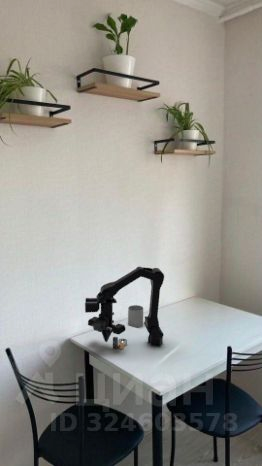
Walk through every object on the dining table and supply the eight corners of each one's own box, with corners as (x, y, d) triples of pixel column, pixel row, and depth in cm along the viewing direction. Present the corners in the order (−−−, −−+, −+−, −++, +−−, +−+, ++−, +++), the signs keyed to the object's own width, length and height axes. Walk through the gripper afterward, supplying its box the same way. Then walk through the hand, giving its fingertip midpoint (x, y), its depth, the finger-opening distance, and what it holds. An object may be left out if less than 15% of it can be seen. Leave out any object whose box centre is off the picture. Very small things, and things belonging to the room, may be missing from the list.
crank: (121, 341, 196) (121, 330, 195) (128, 343, 194) (128, 332, 193) (110, 349, 188) (110, 337, 186) (117, 351, 185) (117, 340, 184)
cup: (141, 328, 215) (141, 311, 213) (126, 327, 216) (127, 310, 214) (144, 322, 223) (144, 305, 221) (129, 321, 224) (130, 304, 222)
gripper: (80, 312, 185) (80, 342, 188) (112, 321, 175) (112, 353, 178) (95, 305, 194) (95, 334, 197) (126, 313, 184) (125, 344, 187)
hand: (106, 341), depth 190 cm, fingers closed
